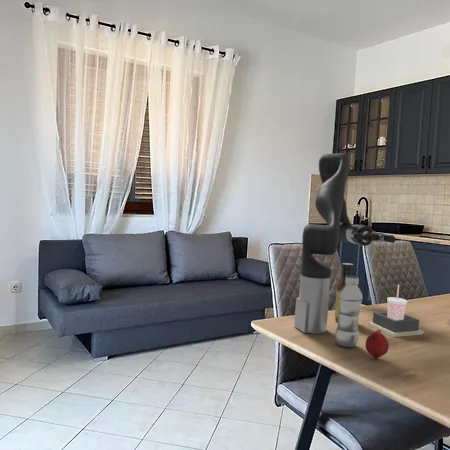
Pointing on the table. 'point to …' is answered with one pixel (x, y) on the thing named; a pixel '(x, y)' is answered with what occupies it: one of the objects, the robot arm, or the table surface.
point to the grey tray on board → (395, 325)
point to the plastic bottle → (349, 313)
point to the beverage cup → (396, 307)
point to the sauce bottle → (342, 284)
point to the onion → (377, 344)
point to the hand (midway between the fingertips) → (382, 239)
